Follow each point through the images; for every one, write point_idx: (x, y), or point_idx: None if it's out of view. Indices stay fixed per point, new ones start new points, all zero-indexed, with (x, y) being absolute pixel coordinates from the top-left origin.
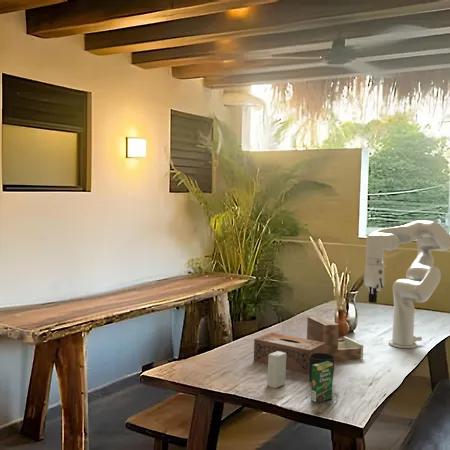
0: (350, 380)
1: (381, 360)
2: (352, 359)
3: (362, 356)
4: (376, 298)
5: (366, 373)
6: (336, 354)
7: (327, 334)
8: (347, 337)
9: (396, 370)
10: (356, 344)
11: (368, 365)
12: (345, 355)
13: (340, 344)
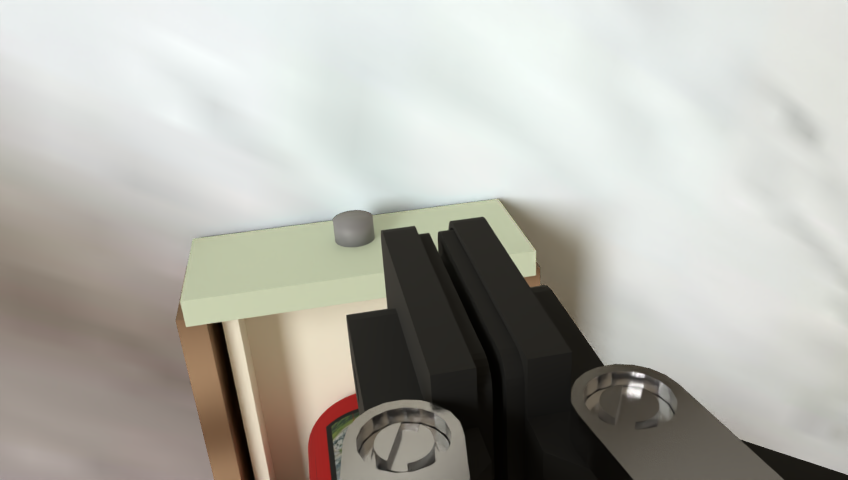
0: (843, 431)
1: (569, 48)
2: None
3: (503, 209)
4: (514, 272)
5: (787, 304)
6: None
7: None
8: (230, 299)
9: (824, 61)
10: None
11: (652, 221)
12: None
13: (241, 329)
